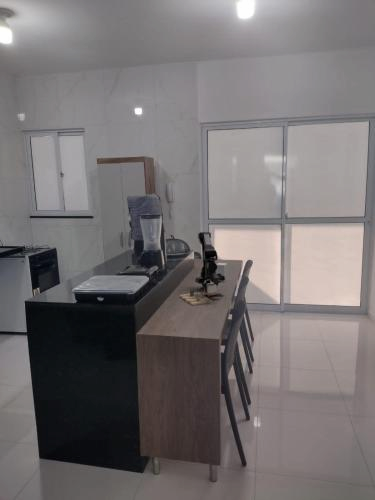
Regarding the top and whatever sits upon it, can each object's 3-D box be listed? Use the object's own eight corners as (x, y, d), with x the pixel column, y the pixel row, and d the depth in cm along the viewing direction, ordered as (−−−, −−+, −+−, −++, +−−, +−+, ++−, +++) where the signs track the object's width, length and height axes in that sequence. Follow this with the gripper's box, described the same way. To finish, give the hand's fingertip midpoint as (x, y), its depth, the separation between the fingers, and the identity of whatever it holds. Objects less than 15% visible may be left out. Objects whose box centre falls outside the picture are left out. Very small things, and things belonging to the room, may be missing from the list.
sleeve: (204, 293, 240) (204, 284, 239) (212, 291, 243) (212, 283, 242) (208, 295, 235) (208, 286, 234) (216, 294, 237) (216, 285, 236)
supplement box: (228, 279, 278) (228, 263, 276) (224, 282, 272) (224, 265, 270) (219, 278, 282) (219, 262, 280) (215, 281, 276) (214, 264, 273)
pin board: (179, 296, 237) (179, 288, 236) (198, 294, 242) (197, 285, 241) (192, 305, 219) (192, 296, 218) (211, 302, 224) (211, 293, 223)
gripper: (202, 272, 225) (202, 297, 228) (229, 269, 232) (229, 293, 235) (194, 268, 235) (195, 292, 238) (220, 266, 242) (220, 289, 245)
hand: (210, 292), depth 239 cm, fingers closed on sleeve, 6 cm apart
